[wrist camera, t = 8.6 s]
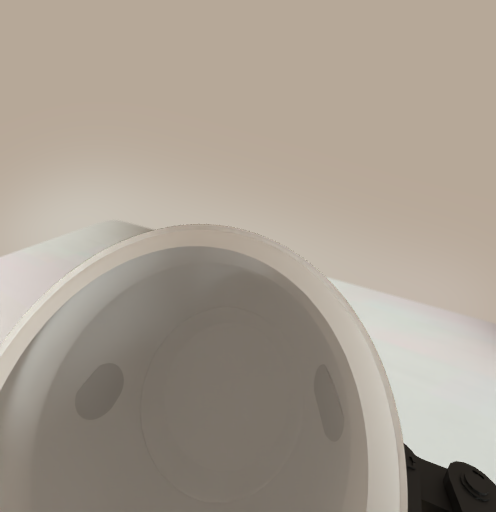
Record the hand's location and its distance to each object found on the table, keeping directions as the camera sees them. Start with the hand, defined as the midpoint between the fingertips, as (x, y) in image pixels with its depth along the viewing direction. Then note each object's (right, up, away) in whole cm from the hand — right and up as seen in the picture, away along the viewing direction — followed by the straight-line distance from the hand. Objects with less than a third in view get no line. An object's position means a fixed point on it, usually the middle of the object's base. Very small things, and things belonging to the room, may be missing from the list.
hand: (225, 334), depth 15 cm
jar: (0, -5, +4) cm, 7 cm away
